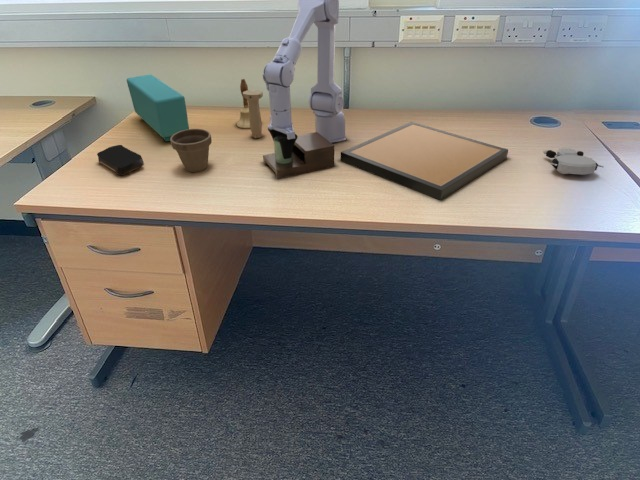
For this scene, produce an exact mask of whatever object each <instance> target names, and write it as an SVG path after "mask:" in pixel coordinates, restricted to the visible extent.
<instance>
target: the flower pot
mask: <svg viewBox="0 0 640 480" xmlns="http://www.w3.org/2000/svg"><path fill="white" fill-rule="evenodd" d="M169 142H170V145H171V148H172V149H173V150H174V151H176V152H177V155H178V157H179V159H180V162H181V163H182V166H183V168H184V169H185V170H186V171H187V172H190V173H196V172H197V173H198V172H202V171H204V170H206V169H207V168H208V166H209V165H208V164H209V155H210V154H209V153H210V146H211V144H212V134H211V132H210V131H208V130H207V129H203V128H189V129H187V130H183V131H179V132H177V133H175V134H173V135H172V136H171V138H170V141H169Z"/></svg>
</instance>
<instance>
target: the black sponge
mask: <svg viewBox="0 0 640 480" xmlns="http://www.w3.org/2000/svg"><path fill="white" fill-rule="evenodd" d="M96 156H97V159H98V163H99V164H101V165H103V166H105V167H107V168H108V169H110V170H112V171H113V172H115V174H116V175H119V176H124V175H126V174H129V173H130V172H133V171H135V170H137V169H139V168H142V167H144V164H145V162H144V160H143V157H142V155H141V154H139V153H137V152H135V151H133V150H131V149H130V148H129V149H128V148H127V147H125V146H123V145H122V144H115V145H113V146H109V147H106V148H105V149H103V150H100V151H99V152H97V153H96Z"/></svg>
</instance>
